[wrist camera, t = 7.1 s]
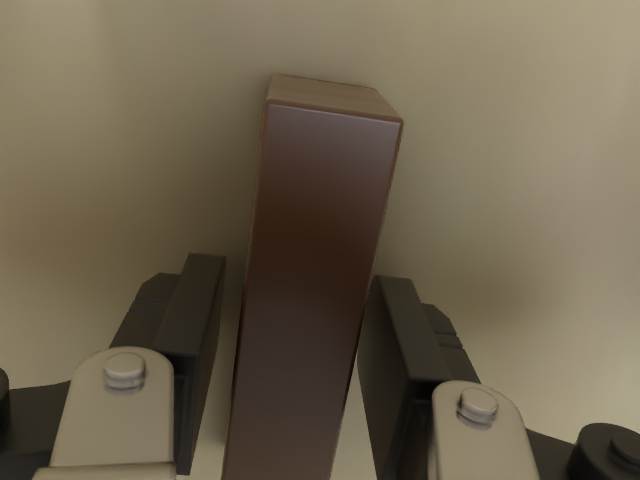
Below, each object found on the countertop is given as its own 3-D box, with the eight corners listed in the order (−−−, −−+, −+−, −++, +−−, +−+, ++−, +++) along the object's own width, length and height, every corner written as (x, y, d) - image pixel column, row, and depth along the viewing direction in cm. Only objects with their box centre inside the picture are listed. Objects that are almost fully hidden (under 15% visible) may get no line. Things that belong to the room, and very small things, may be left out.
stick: (308, 457, 14) (312, 567, 11) (227, 450, 14) (211, 560, 11) (377, 88, 11) (406, 119, 8) (272, 72, 11) (264, 98, 8)
